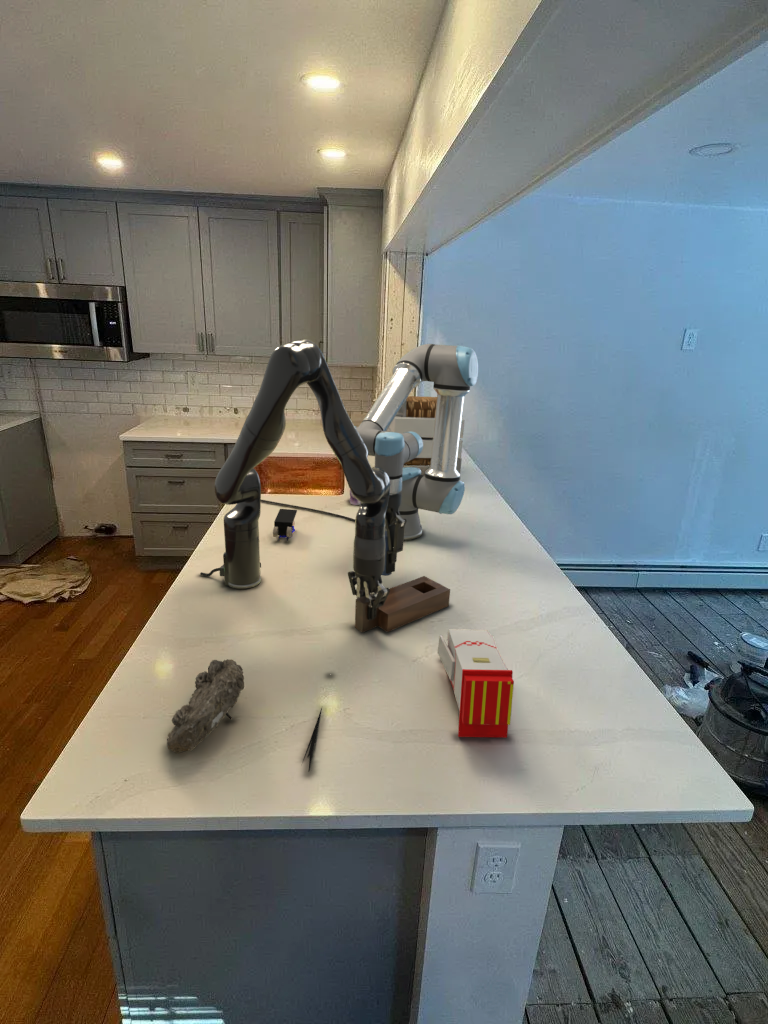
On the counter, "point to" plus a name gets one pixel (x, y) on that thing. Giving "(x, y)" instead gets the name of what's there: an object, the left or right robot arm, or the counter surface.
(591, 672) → the counter surface
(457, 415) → the right robot arm
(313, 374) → the left robot arm
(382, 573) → the peg
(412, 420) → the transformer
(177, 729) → the fossil
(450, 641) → the toy
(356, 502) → the figurine
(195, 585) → the counter surface
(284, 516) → the figurine character
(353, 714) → the counter surface
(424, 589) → the peg block
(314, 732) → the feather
